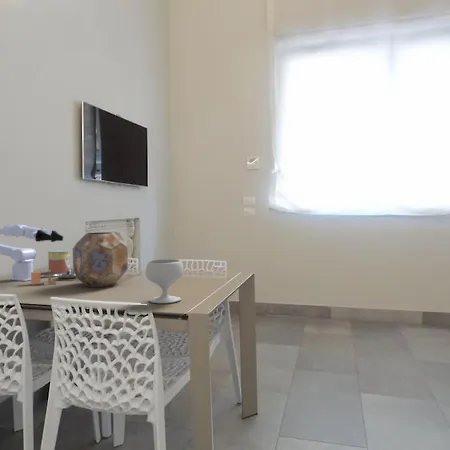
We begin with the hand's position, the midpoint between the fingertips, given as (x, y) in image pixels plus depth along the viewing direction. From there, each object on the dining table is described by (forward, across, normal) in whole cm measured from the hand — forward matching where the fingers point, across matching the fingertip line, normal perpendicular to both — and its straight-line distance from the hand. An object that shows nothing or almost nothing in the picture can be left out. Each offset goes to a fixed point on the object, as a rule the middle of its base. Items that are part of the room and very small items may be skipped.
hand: (57, 238), depth 208 cm
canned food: (-18, +27, +22) cm, 39 cm away
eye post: (+3, -3, +21) cm, 22 cm away
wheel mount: (+2, +11, +20) cm, 23 cm away
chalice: (+73, -21, +12) cm, 77 cm away
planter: (+28, +1, +17) cm, 33 cm away
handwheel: (+2, +11, +20) cm, 23 cm away
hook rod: (+2, -4, +21) cm, 22 cm away
